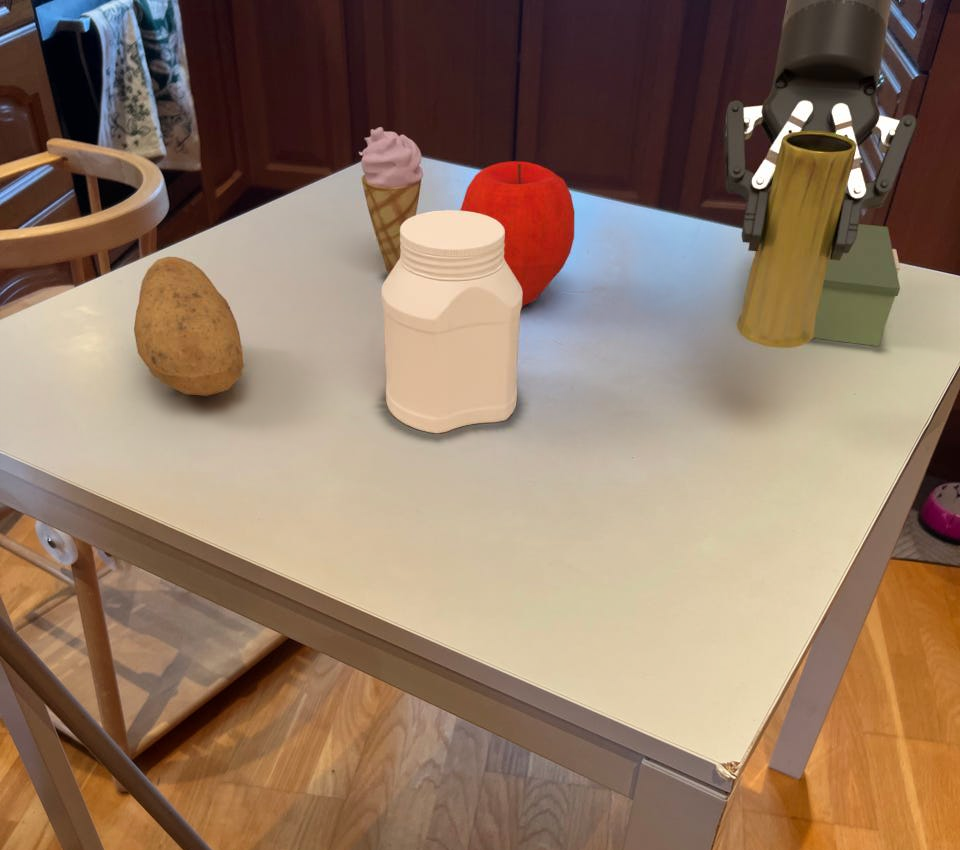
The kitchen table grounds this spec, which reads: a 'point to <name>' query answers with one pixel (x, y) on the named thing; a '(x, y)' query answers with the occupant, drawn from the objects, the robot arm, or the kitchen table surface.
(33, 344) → the kitchen table surface
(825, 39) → the robot arm
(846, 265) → the lunchbox
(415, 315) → the jar
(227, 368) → the potato
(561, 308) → the kitchen table surface
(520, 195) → the apple
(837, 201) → the vase
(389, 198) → the ice cream cone
